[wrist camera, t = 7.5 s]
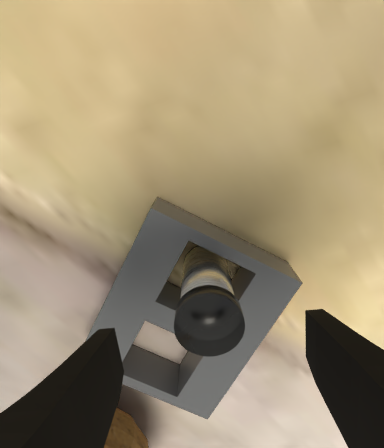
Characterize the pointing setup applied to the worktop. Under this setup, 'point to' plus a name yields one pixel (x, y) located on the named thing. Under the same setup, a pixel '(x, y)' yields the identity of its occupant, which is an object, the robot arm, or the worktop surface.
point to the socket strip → (169, 297)
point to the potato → (125, 432)
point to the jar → (207, 306)
